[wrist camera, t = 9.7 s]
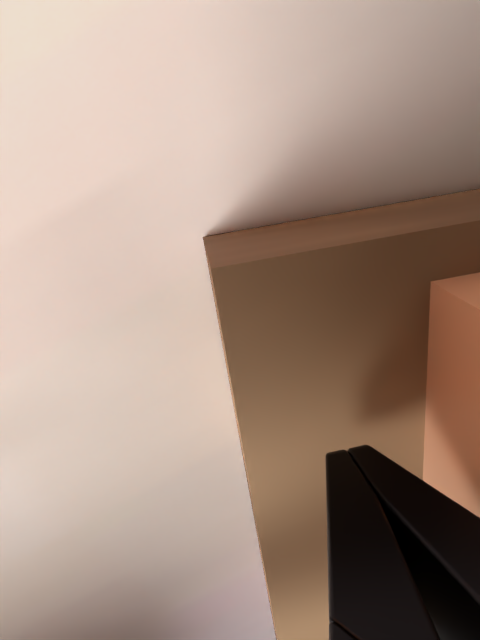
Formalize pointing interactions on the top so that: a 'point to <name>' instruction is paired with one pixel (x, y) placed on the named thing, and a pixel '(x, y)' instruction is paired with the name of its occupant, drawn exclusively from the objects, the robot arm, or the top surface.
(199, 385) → the top surface
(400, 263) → the walnut board
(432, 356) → the terracotta tile
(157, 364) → the top surface
